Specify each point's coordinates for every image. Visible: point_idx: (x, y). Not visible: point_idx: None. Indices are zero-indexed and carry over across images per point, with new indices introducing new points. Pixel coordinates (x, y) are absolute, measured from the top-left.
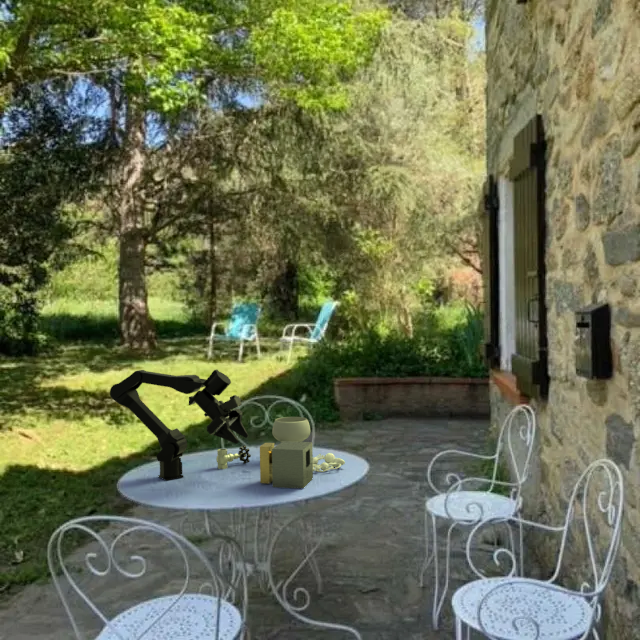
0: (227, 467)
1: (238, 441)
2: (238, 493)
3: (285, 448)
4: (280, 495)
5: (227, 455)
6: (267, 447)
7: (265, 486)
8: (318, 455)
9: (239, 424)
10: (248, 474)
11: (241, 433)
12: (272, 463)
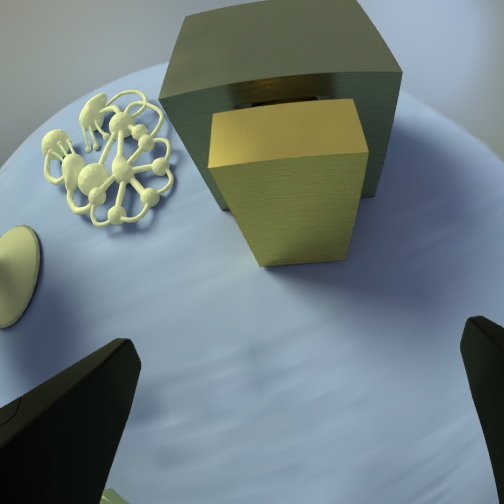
0: (109, 489)
1: (477, 316)
2: (489, 289)
3: (356, 32)
4: (446, 145)
5: None
6: (354, 108)
7: (371, 227)
8: (55, 153)
9: (15, 464)
10: (188, 380)
11: (110, 424)
12: (390, 130)
